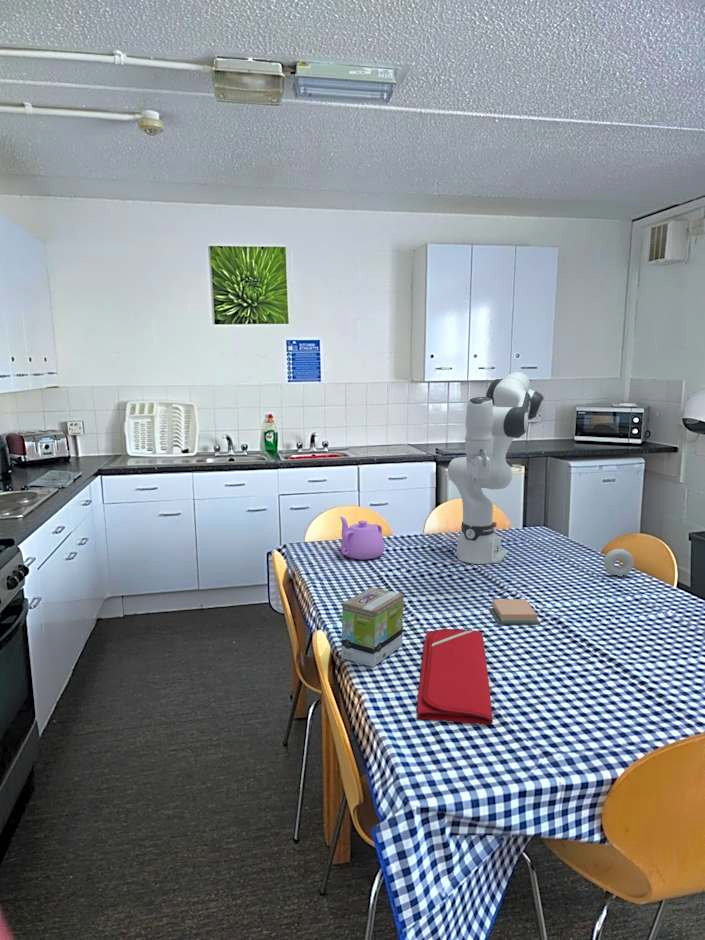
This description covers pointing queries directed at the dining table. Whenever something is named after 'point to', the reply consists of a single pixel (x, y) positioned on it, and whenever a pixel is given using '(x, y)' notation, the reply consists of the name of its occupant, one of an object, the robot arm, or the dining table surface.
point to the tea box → (372, 626)
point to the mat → (509, 622)
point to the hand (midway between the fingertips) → (477, 490)
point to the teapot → (362, 540)
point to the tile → (514, 610)
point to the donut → (616, 554)
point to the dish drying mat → (454, 678)
